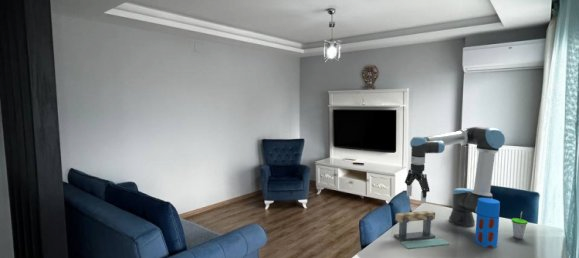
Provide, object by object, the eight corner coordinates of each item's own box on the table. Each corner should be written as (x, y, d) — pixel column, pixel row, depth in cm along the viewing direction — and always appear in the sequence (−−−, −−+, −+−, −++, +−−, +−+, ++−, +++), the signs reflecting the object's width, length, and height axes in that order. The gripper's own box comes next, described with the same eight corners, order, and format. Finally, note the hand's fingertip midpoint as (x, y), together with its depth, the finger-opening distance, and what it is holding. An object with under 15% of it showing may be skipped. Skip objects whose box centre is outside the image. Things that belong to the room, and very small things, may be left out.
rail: (431, 217, 193) (431, 210, 192) (434, 219, 189) (435, 212, 189) (395, 220, 187) (395, 213, 187) (398, 222, 184) (399, 215, 184)
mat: (440, 239, 186) (440, 238, 186) (448, 244, 180) (449, 243, 179) (400, 243, 180) (400, 242, 180) (407, 248, 174) (407, 247, 174)
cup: (518, 240, 186) (519, 215, 185) (507, 234, 194) (508, 210, 192) (529, 239, 187) (531, 214, 186) (518, 234, 195) (519, 210, 194)
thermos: (500, 248, 175) (503, 204, 173) (479, 246, 177) (482, 202, 175) (492, 240, 186) (495, 198, 184) (472, 238, 188) (474, 197, 186)
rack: (427, 233, 195) (428, 212, 194) (435, 237, 188) (436, 216, 187) (393, 236, 190) (394, 215, 189) (400, 241, 183) (401, 219, 182)
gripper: (399, 160, 197) (398, 193, 198) (425, 168, 173) (423, 206, 174) (410, 159, 198) (409, 193, 200) (437, 167, 174) (435, 205, 176)
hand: (415, 199), depth 187 cm, fingers open, 13 cm apart
